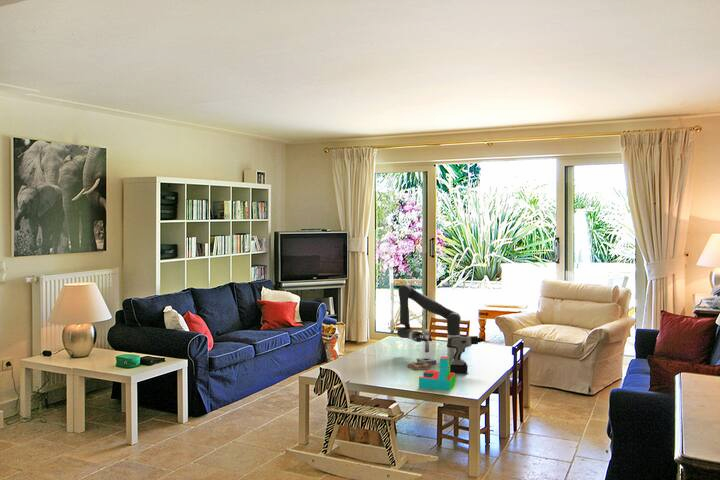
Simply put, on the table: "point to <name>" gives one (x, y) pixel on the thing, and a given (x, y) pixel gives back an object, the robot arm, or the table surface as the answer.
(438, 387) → the building blocks toy
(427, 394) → the table surface
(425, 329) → the clear test tube
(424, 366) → the rack block
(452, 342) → the cordless drill
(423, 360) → the grey flat square frame
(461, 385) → the table surface
